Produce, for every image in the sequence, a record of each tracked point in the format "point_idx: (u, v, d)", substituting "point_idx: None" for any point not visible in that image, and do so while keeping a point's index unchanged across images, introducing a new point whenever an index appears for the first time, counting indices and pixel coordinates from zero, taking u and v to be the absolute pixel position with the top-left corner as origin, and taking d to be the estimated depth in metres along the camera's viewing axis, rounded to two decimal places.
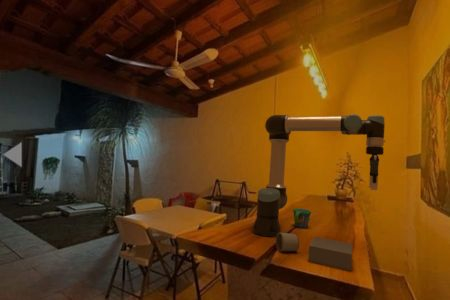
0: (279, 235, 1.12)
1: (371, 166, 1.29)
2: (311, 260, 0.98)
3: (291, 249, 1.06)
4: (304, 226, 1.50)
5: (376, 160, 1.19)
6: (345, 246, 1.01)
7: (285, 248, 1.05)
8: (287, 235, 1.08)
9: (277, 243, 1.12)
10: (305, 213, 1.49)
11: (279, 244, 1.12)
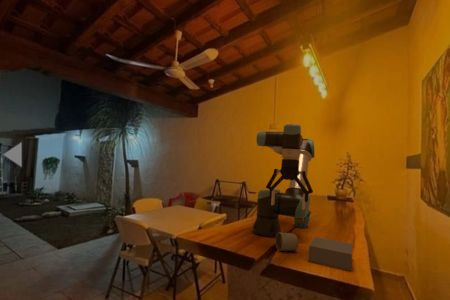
0: (278, 235, 1.12)
1: None
2: (311, 260, 0.98)
3: (290, 248, 1.07)
4: (304, 226, 1.50)
5: None
6: (345, 246, 1.01)
7: (284, 247, 1.06)
8: (286, 235, 1.08)
9: (276, 243, 1.12)
10: None
11: (278, 244, 1.12)
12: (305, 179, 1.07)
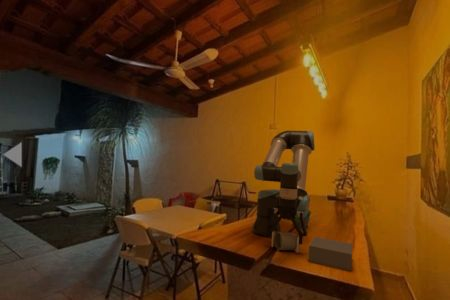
0: (278, 234, 1.13)
1: None
2: (311, 260, 0.98)
3: (290, 248, 1.08)
4: None
5: None
6: (345, 246, 1.01)
7: (284, 247, 1.07)
8: (286, 234, 1.09)
9: (276, 242, 1.13)
10: None
11: (278, 243, 1.13)
12: (301, 221, 1.07)
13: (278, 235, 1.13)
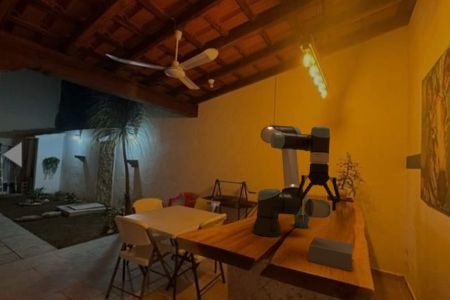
0: (308, 202, 1.07)
1: None
2: (311, 260, 0.98)
3: (322, 215, 1.02)
4: (304, 226, 1.50)
5: None
6: (345, 246, 1.01)
7: (316, 213, 1.01)
8: (317, 200, 1.03)
9: (306, 210, 1.07)
10: (305, 213, 1.49)
11: (308, 211, 1.07)
12: (335, 186, 1.01)
13: (309, 203, 1.08)
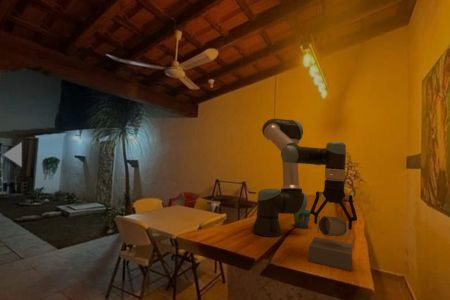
0: (323, 219, 1.05)
1: None
2: (311, 260, 0.98)
3: (338, 233, 0.99)
4: (304, 226, 1.50)
5: None
6: (345, 246, 1.01)
7: (332, 232, 0.98)
8: (333, 218, 1.01)
9: (321, 228, 1.05)
10: (305, 213, 1.49)
11: (323, 229, 1.05)
12: (351, 204, 0.99)
13: (323, 220, 1.05)
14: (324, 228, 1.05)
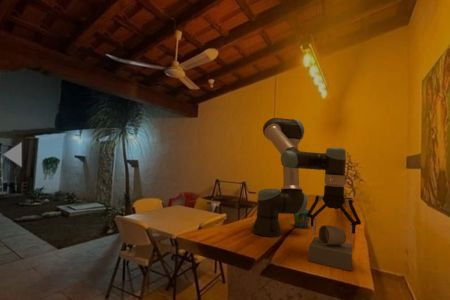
0: (322, 228, 1.05)
1: None
2: (311, 260, 0.98)
3: (337, 243, 0.99)
4: (304, 226, 1.50)
5: None
6: (345, 246, 1.01)
7: (331, 241, 0.98)
8: (332, 228, 1.01)
9: (320, 236, 1.05)
10: (305, 213, 1.49)
11: (322, 238, 1.05)
12: (352, 209, 0.98)
13: (322, 229, 1.05)
14: (323, 237, 1.05)
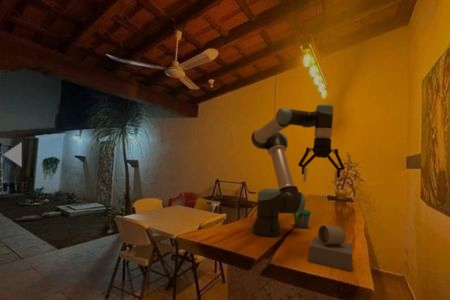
0: (322, 228, 1.05)
1: None
2: (311, 260, 0.98)
3: (337, 242, 1.00)
4: (304, 226, 1.50)
5: None
6: (345, 246, 1.01)
7: (331, 241, 0.99)
8: (332, 227, 1.01)
9: (320, 236, 1.05)
10: (305, 213, 1.49)
11: (322, 237, 1.05)
12: (337, 156, 1.13)
13: (322, 229, 1.05)
14: (323, 237, 1.05)
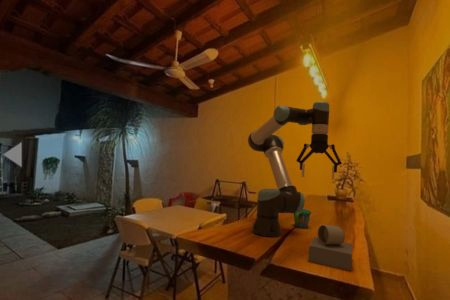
0: (321, 228, 1.05)
1: None
2: (311, 260, 0.98)
3: (336, 242, 1.00)
4: (304, 226, 1.50)
5: None
6: (345, 246, 1.01)
7: (330, 241, 0.99)
8: (332, 227, 1.01)
9: (319, 236, 1.05)
10: (305, 213, 1.49)
11: (321, 237, 1.05)
12: (334, 151, 1.17)
13: (321, 229, 1.06)
14: (322, 236, 1.05)
